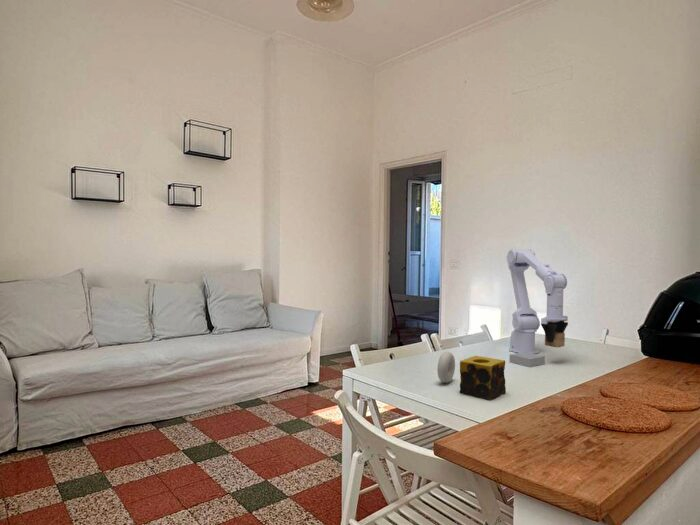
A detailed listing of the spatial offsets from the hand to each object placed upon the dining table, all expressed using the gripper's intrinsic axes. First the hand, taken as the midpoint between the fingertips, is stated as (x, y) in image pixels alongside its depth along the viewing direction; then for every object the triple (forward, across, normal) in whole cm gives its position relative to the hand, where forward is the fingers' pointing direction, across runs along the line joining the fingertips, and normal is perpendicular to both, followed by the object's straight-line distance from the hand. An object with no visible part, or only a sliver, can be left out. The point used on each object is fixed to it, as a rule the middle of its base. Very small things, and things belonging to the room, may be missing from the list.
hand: (554, 341), depth 175 cm
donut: (+9, -54, +4) cm, 55 cm away
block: (+2, 0, 0) cm, 2 cm away
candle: (+9, -53, -10) cm, 55 cm away
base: (+8, -9, +6) cm, 13 cm away
